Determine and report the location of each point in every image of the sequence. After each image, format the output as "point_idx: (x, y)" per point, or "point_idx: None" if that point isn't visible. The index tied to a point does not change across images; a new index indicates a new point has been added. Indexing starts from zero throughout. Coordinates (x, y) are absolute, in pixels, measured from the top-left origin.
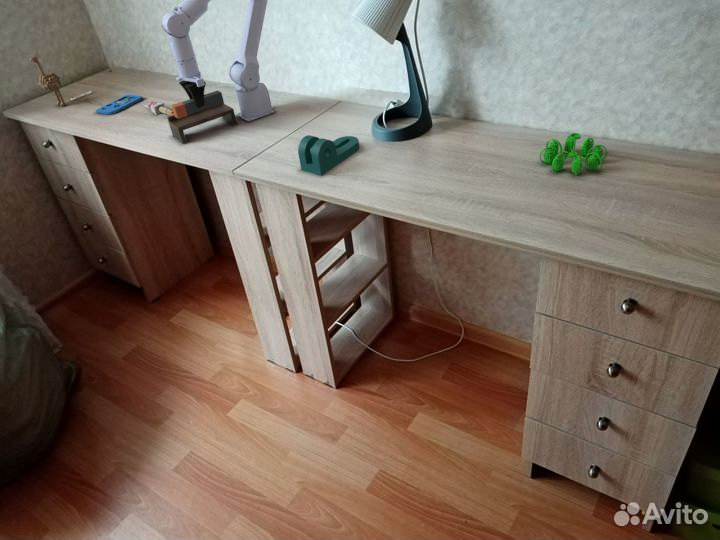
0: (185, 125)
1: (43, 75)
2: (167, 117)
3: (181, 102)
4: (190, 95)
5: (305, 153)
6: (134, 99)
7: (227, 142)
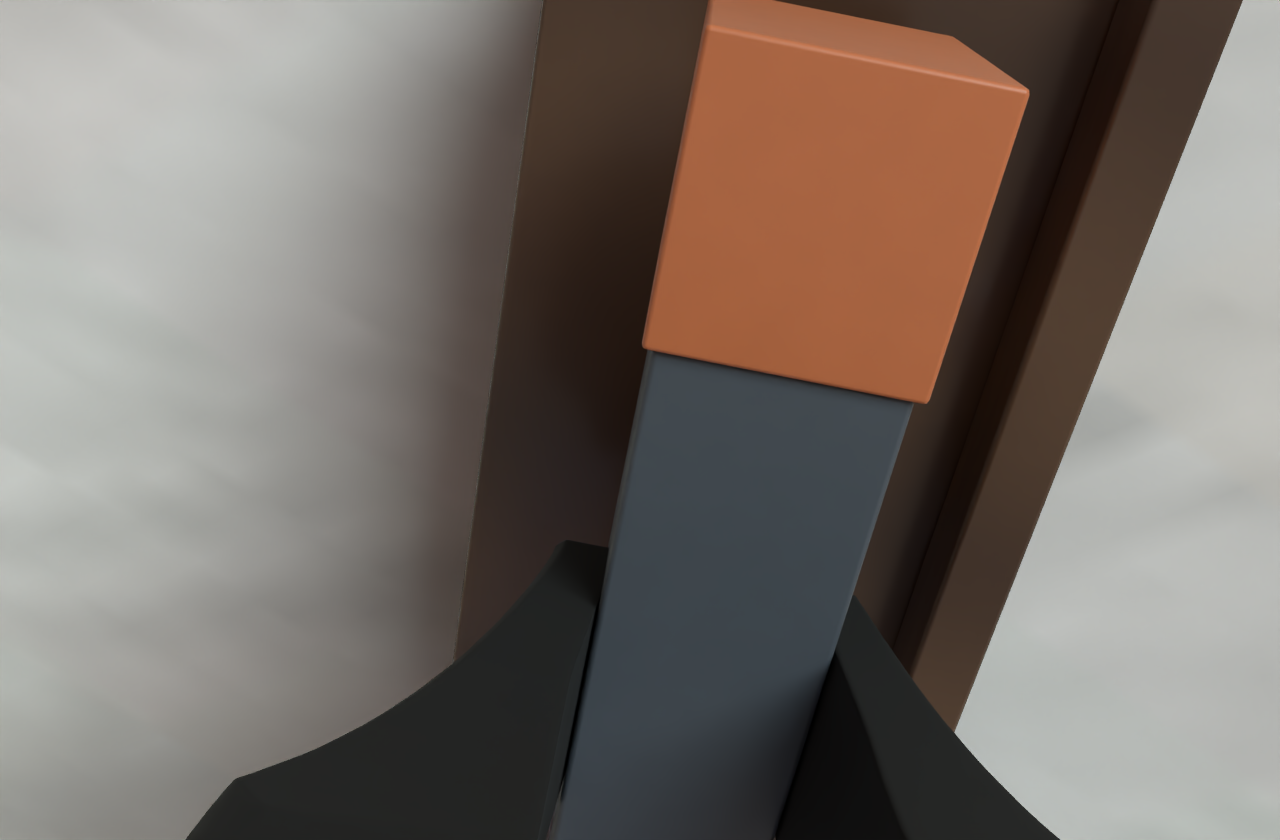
0: (542, 15)
1: None
2: None
3: (883, 403)
4: (845, 743)
5: None
6: None
7: (29, 283)
